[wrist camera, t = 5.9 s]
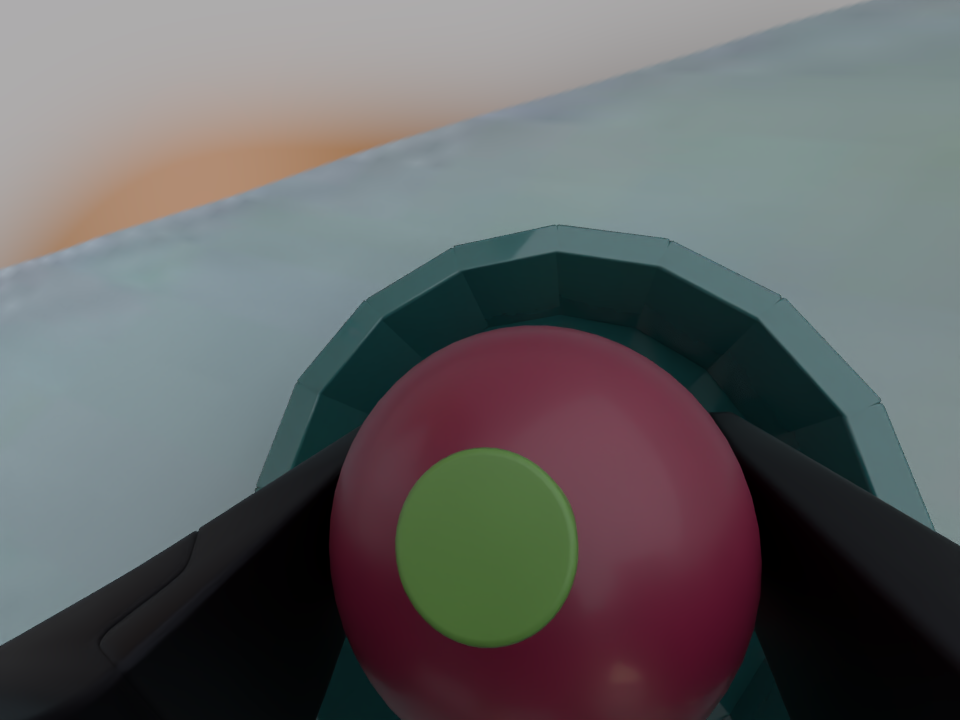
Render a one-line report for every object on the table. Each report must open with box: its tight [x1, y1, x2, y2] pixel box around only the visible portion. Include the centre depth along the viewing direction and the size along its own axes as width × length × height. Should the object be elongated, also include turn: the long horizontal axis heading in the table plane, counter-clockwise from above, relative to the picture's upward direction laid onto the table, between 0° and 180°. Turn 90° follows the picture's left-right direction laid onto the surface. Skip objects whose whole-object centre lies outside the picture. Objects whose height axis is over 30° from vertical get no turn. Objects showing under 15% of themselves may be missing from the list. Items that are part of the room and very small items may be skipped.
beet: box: [329, 325, 762, 720], centre depth 8 cm, size 6×6×11 cm
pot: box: [255, 225, 936, 720], centre depth 12 cm, size 14×14×5 cm
